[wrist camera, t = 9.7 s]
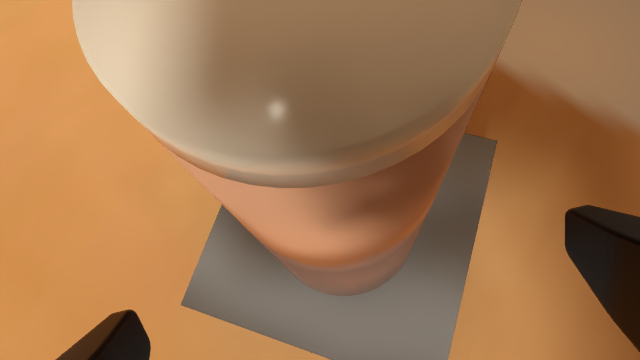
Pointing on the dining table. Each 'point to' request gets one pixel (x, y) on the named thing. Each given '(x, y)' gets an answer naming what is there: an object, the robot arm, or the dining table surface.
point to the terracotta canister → (306, 112)
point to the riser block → (363, 309)
